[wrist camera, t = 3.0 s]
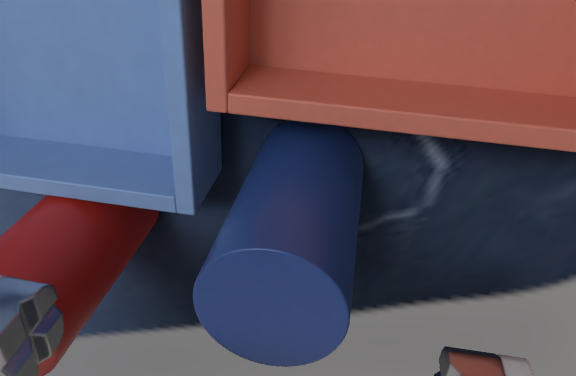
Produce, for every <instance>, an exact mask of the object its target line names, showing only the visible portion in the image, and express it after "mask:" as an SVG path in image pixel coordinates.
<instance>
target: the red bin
mask: <svg viewBox="0 0 576 376" xmlns="http://www.w3.org/2000/svg"><path fill="white" fill-rule="evenodd" d="M201 4H202V26H203V48H204V70H205V91H206V109H207V111H211V112H220V113H227V112H228V113H230V114H238V115H247V116H256V117H265V118H274V119H283V120H292V121H301V122H310V123H318V124H327V125H336V126H345V127H354V128H363V129H372V130H381V131H390V132H399V133H408V134H417V135H426V136H435V137H444V138H453V139H462V140H471V141H480V142H489V143H498V144H506V145H515V146H524V147H533V148H542V149H551V150H560V151H569V152H576V0H201Z"/></svg>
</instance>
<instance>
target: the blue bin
mask: <svg viewBox="0 0 576 376" xmlns="http://www.w3.org/2000/svg"><path fill="white" fill-rule="evenodd" d="M221 170H222V150H221V117H220V112H211V111H207V109H206V91H205V70H204V48H203V26H202V4H201V0H0V189H8V190H15V191H22V192H29V193H36V194H43V195H51V196H58V197H65V198H72V199H79V200H86V201H94V202H101V203H108V204H115V205H122V206H129V207H137V208H144V209H151V210H158V211H165V212H172V213H176V212H177V213H180V214H187V215H195V214H196V212H197V210H198V209H199V207H200V205H201V204H202V202H203V200H204V199H205V197H206V195H207V193H208V192H209V190H210V188H211V187H212V185H213V183H214V182H215V180H216V178H217V177H218V175H219V174H220V172H221Z"/></svg>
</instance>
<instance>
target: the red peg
mask: <svg viewBox="0 0 576 376" xmlns="http://www.w3.org/2000/svg"><path fill="white" fill-rule="evenodd" d="M158 214H159V211H158V210H151V209H144V208H137V207H129V206H122V205H115V204H108V203H101V202H94V201H86V200H79V199H72V198H65V197H58V196H51V195H46V196H45V197H44V198H43V199H42V200H41V201H39V202H38V203H37V204H36V205H35V206H34V207H33V208H32V209H31V210H29V211H28V212H27V213H26V214H25V215H24V216H23V217H22V218H20V219H19V220H18V221H17V222H16V223H15V224H14V225H13V226H12V227H10V228H9V229H8V230H7V231H6V232H5V233H4V234H3V235H2V236H0V275H2V276H9V277H15V278H20V279H25V280H31V281H36V282H41V283H47V284H50V285H53V286H55V289H56V292H57V295H58V299H57V300H56V301H55V303H54V305H55V306H56V307H57V308H58V309H59V310H60V311H61V312H62V313H63V318H64V333H63V335H62V338H61V341H60V344H59V346H58V347H57V349H56V350H55V352H54V353H53V355H52V356H51V357H49V358H48V359H46V360H44V361H42V362H41V363H39V375H38V376H44V375H46V374H47V373H49V372H50V371H52V370H53V369H54V368H55V366H56V365H57V364H58V362H59V361H60V359H61V358H62V357H63V355H64V354H65V352H66V351H67V349H68V348H69V346H70V345H71V344H72V342H73V341H74V339H75V338H76V337H77V335H78V334H79V332H80V331H81V329H82V328H83V327H84V325H85V324H86V322H87V321H88V319H89V318H90V316H91V315H92V314H93V312H94V311H95V309H96V308H97V306H98V305H99V304H100V302H101V301H102V299H103V298H104V296H105V295H106V294H107V292H108V291H109V289H110V288H111V286H112V285H113V284H114V282H115V281H116V279H117V278H118V276H119V275H120V274H121V272H122V271H123V269H124V268H125V266H126V265H127V264H128V262H129V261H130V259H131V258H132V256H133V255H134V253H135V252H136V251H137V249H138V248H139V246H140V245H141V243H142V242H143V241H144V239H145V238H146V236H147V235H148V233H149V232H150V231H151V229H152V228H153V226H154V225H155V223H156V221H157V218H158Z"/></svg>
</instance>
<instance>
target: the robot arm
mask: <svg viewBox="0 0 576 376" xmlns="http://www.w3.org/2000/svg"><path fill="white" fill-rule="evenodd" d="M57 299H58V295H57V292H56V289H55V286H53V285H50V284H47V283H41V282H36V281H31V280H25V279H20V278H15V277H9V276H2V275H0V376H38V375H39V363H41V362H42V361H44V360H46V359H48V358H49V357H51V356H52V355H53V353H54V352H55V350H56V349H57V347H58V346H59V344H60V341H61V338H62V335H63V333H64V318H63V313H62V312H61V311H60V310H59V309H58V308H57V307H56V306H55V305H54V303H55V301H56V300H57ZM439 364H440V371H439V372H438V373H436V374H434V376H533V373H532V370H531V367H530V364H529V362H528V361H527V360H526V359H525V358H518V357H511V356H505V355H496V354H493V353H486V352H479V351H473V350H466V349H459V348H452V347H444V348H443V350H442V352H441V355H440V358H439Z"/></svg>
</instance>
